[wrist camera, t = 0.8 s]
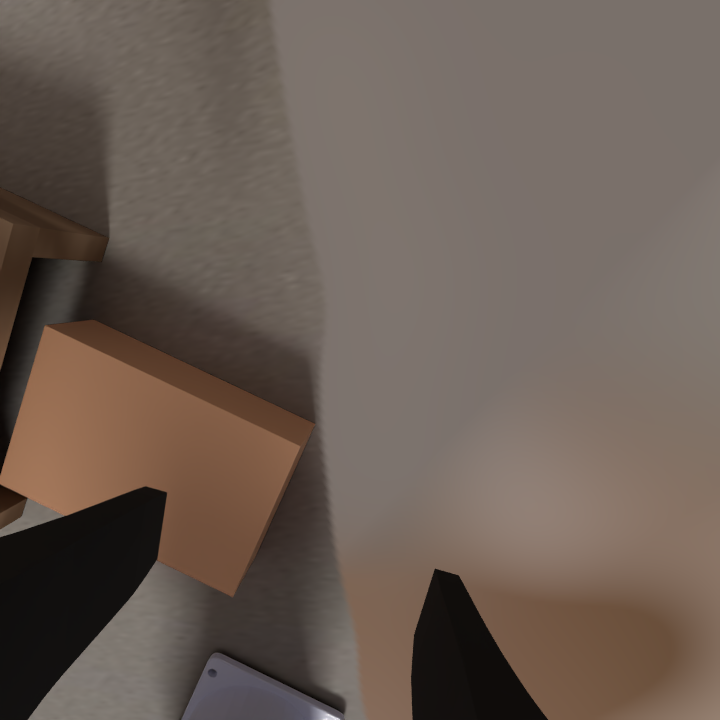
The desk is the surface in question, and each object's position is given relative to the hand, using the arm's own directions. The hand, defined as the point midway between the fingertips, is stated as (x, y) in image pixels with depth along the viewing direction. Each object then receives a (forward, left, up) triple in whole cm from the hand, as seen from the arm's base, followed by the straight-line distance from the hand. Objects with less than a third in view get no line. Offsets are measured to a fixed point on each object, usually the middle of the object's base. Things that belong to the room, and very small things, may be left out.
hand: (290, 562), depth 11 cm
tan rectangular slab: (-4, +7, -10) cm, 13 cm away
